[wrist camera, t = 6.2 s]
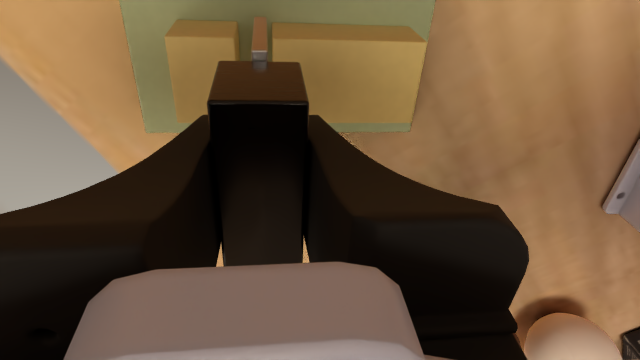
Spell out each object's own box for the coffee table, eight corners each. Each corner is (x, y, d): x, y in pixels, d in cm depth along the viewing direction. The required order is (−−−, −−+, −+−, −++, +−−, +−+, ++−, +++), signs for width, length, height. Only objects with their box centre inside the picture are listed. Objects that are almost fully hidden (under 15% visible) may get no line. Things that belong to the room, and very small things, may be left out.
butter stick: (396, 100, 20) (412, 123, 18) (272, 100, 19) (273, 123, 17) (409, 26, 18) (428, 42, 16) (271, 21, 17) (272, 38, 15)
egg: (613, 336, 34) (583, 281, 31) (653, 418, 29) (623, 363, 26) (534, 354, 37) (499, 305, 33) (558, 430, 32) (519, 383, 28)
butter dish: (404, 124, 22) (410, 132, 21) (150, 124, 20) (145, 133, 19) (431, -21, 18) (440, -17, 17) (119, -35, 16) (111, -31, 16)
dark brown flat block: (290, 166, 16) (302, 285, 11) (237, 166, 16) (225, 288, 11) (292, 17, 13) (310, 89, 8) (227, 15, 13) (204, 88, 8)
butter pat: (242, 99, 19) (239, 123, 17) (186, 99, 19) (177, 123, 17) (237, 20, 17) (234, 37, 15) (175, 19, 17) (163, 35, 15)
